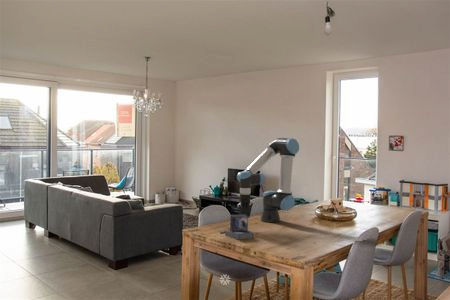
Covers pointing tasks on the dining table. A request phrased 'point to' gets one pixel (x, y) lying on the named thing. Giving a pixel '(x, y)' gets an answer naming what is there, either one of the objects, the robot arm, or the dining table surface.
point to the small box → (239, 223)
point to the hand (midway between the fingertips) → (244, 227)
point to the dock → (239, 234)
